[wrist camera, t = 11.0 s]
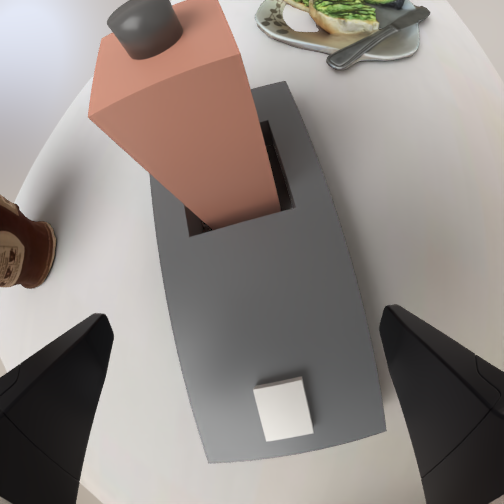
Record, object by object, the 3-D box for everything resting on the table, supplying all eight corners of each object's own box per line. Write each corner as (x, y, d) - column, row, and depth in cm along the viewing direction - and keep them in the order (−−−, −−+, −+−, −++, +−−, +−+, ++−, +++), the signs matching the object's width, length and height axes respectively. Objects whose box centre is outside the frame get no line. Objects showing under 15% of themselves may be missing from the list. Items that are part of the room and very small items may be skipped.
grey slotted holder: (374, 413, 15) (390, 436, 11) (222, 443, 16) (204, 469, 13) (288, 107, 20) (284, 73, 16) (163, 145, 21) (141, 119, 18)
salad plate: (426, 113, 19) (444, 77, 14) (226, 63, 23) (213, 26, 18) (426, 11, 21) (433, -16, 16) (288, -20, 25) (284, -47, 20)
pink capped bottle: (281, 213, 19) (226, 8, 5) (216, 232, 19) (56, 88, 5) (264, 156, 20) (202, -40, 6) (203, 174, 20) (82, 13, 6)
